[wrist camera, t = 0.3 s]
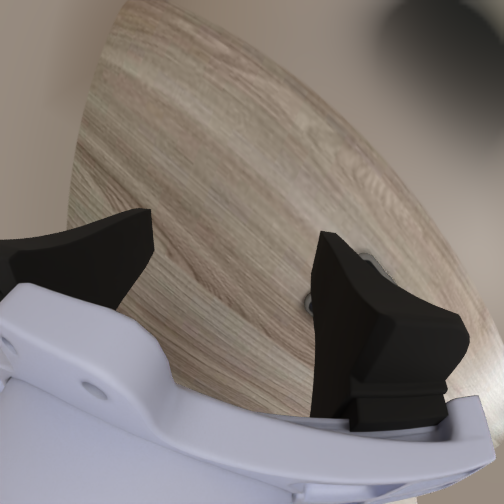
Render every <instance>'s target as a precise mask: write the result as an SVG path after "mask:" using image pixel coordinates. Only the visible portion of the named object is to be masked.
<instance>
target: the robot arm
mask: <svg viewBox="0 0 504 504" xmlns="http://www.w3.org/2000/svg"><path fill="white" fill-rule="evenodd" d="M153 252H154V241H153V230H152V218H151V209H142V208H137V209H131V210H128V211H124V212H121V213H118V214H115V215H112V216H110V217H107V218H104V219H101V220H98V221H95V222H92V223H90V224H87V225H84V226H81V227H78V228H74V229H71V230H67V231H63V232H59V233H54V234H50V235H44V236H39V237H33V238H24V239H13V240H12V239H10V240H0V504H385V503H390V502H395V501H399V500H404V499H408V498H412V497H416V496H420V495H424V494H427V493H431V492H434V491H438V490H441V489H444V488H447V487H449V486H451V485H453V484H455V483H457V482H459V481H461V480H463V479H464V478H466V477H468V476H470V475H472V474H473V473H475V472H477V471H478V470H480V469H482V468H483V467H485V466H486V465H488V464H490V463H491V462H493V461H494V460H495V458H496V455H495V451H494V446H493V442H492V438H491V434H490V431H489V427H488V423H487V420H486V417H485V413H484V410H483V407H482V404H481V401H480V398H479V396H478V395H474V396H468V397H461V398H455V399H452V400H450V401H448V402H447V403H445V400H444V396H443V394H445V393H446V392H447V390H448V388H447V385H446V381H445V380H446V379H447V378H448V376H449V375H450V374H451V373H452V372H453V370H454V369H455V368H456V367H457V365H458V364H459V363H460V362H461V360H462V359H463V357H464V355H465V354H466V352H467V349H468V346H469V343H470V336H469V333H468V331H467V329H466V327H465V325H464V323H463V321H462V319H461V317H460V316H459V315H458V314H456V313H453V312H451V311H448V310H445V309H443V308H440V307H437V306H435V305H433V304H431V303H428V302H426V301H424V300H422V299H420V298H418V297H416V296H414V295H412V294H411V293H409V292H407V291H405V290H404V289H402V288H400V287H399V286H397V285H396V284H394V283H393V282H391V281H390V280H388V279H387V278H385V277H384V276H383V275H381V274H380V273H379V272H377V271H376V270H375V269H374V268H372V267H371V266H370V265H369V264H368V263H367V262H366V261H364V260H363V259H362V258H361V257H360V256H359V255H358V254H357V253H356V252H355V251H354V250H353V249H352V248H351V247H350V246H349V245H348V244H347V243H346V242H345V241H344V240H343V239H342V238H341V237H340V236H338V235H337V234H336V233H331V232H325V231H320V236H319V241H318V245H317V250H316V254H315V259H314V263H313V268H312V272H311V301H312V311H313V320H314V330H315V367H314V382H313V393H312V403H311V412H310V417H297V416H286V415H277V414H269V413H261V412H254V411H250V410H247V409H244V408H241V407H238V406H235V405H232V404H229V403H226V402H224V401H221V400H218V399H215V398H213V397H210V396H207V395H205V394H202V393H200V392H197V391H195V390H192V389H190V388H187V387H185V386H182V385H180V384H177V383H175V382H174V380H173V378H172V374H171V370H170V365H169V361H168V359H167V357H166V355H165V354H164V352H163V350H162V348H161V347H160V345H159V343H158V341H157V339H156V338H155V337H154V336H153V335H152V334H151V333H149V332H148V331H147V330H146V329H145V328H144V327H143V326H141V325H140V324H139V323H138V322H137V321H136V320H134V319H132V318H130V317H128V316H126V315H123V314H121V313H119V312H117V311H116V309H117V308H118V306H119V304H120V303H121V301H122V300H123V298H124V297H125V296H126V294H127V293H128V291H129V290H130V288H131V287H132V286H133V284H134V283H135V282H136V280H137V279H138V277H139V276H140V275H141V273H142V272H143V270H144V269H145V267H146V266H147V264H148V262H149V260H150V258H151V256H152V254H153Z"/></svg>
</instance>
